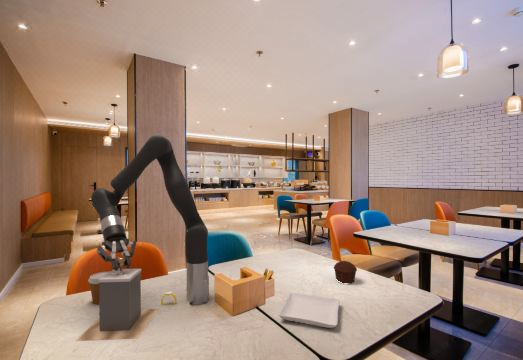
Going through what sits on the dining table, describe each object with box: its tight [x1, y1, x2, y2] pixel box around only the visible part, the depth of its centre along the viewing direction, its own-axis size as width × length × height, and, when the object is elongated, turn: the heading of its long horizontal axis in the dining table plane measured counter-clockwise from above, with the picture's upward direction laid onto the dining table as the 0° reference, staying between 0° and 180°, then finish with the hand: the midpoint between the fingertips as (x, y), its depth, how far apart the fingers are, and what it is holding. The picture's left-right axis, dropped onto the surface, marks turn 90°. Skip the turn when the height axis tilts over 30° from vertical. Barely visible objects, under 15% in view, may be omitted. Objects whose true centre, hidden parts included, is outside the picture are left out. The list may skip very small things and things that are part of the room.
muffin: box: [333, 260, 358, 284], centre depth 138 cm, size 12×11×10 cm
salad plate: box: [278, 292, 341, 329], centre depth 105 cm, size 21×21×3 cm
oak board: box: [75, 308, 159, 342], centre depth 97 cm, size 20×20×1 cm
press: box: [98, 268, 142, 331], centre depth 97 cm, size 12×10×18 cm
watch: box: [160, 290, 177, 306], centre depth 111 cm, size 6×3×6 cm, turn 98°
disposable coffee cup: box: [88, 271, 110, 305], centre depth 115 cm, size 10×10×12 cm
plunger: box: [115, 255, 126, 275], centre depth 97 cm, size 7×7×21 cm
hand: (122, 268), depth 95 cm, fingers closed on plunger, 3 cm apart
